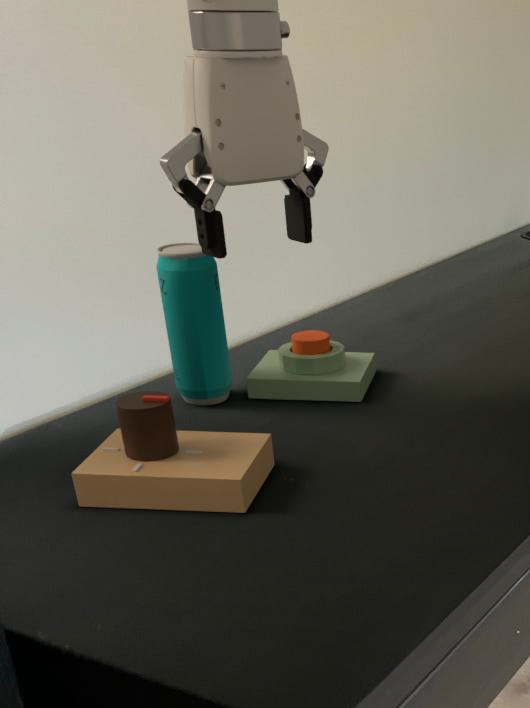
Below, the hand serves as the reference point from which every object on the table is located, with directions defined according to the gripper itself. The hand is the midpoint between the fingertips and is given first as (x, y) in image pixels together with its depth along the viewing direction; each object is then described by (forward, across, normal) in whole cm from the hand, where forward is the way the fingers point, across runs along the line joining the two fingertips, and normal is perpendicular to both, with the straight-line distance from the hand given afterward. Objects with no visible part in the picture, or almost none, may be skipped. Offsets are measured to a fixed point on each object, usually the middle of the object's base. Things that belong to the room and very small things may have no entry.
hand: (258, 248), depth 93 cm
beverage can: (+16, +4, -7) cm, 18 cm away
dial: (+13, +19, +9) cm, 24 cm away
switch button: (+12, -7, -3) cm, 14 cm away
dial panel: (+16, +17, +10) cm, 26 cm away
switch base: (+16, -7, -3) cm, 17 cm away
